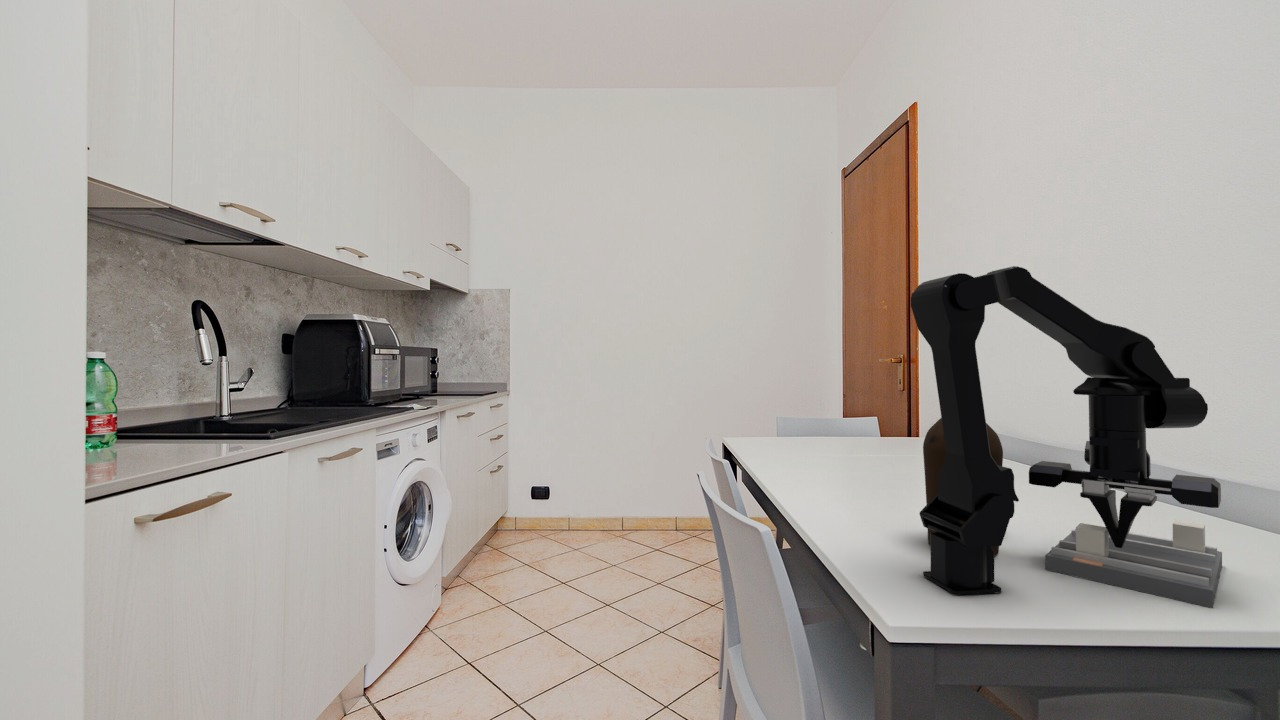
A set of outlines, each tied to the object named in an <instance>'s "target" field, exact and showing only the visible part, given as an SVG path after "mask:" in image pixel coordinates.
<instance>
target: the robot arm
mask: <svg viewBox="0 0 1280 720" xmlns="http://www.w3.org/2000/svg"><path fill="white" fill-rule="evenodd" d="M996 303H997V304H999V305H1001V306H1002V307H1004V308H1005V309H1007V310H1008V311H1010V312H1011V313H1013V314H1015V315H1016V316H1017V317H1019V318H1021V319H1022V320H1023V321H1026V323H1028V324H1030V325H1031V326H1032V327H1034V328H1036V329H1037V330H1039V331H1041V332H1042V333H1043V334H1045V335H1047V336H1048V337H1049V338H1051V339H1053V340H1054V341H1056V342H1057V343H1059V344H1060V345H1061V346H1062V347H1063V348H1064V349H1065V350H1066V354H1067V357H1068V359H1069V361H1070V362H1071V363H1073V364H1074V365H1075V367H1077V368H1078V369H1079V370H1080V371H1081V372H1082V373H1083V374H1085V375H1086V376H1088V377H1086V378H1085V380H1084V381H1083V382H1082V383H1081V384H1080V385H1077V387H1075V388H1073V390H1072V391H1073V394H1074V395H1078V396H1080V395H1081V396H1088V427H1089V428H1088V432H1089V433H1088V435H1089V437H1088V440H1087V441H1086V442H1085V446H1084V458H1083V459H1084V461H1085V463H1086V465H1089V471H1086V470H1079V469H1078V470H1077V469H1073V468H1072V465H1071V463H1065V462H1056V461H1055V462H1054V461H1046V460H1042V461H1039V462H1036V463H1035V464H1032V465H1031V466H1030V467H1029V470H1028V484H1029V485H1033V486H1041V487H1047V488H1048V487H1049V488H1056V487H1057V486H1058V487H1059V485H1061V484H1062V483H1068V484H1076V485H1081V489H1082V491H1081V492H1080V495H1079V497H1080V498H1084V499H1088V500H1089V501H1090V503H1091V504H1092V506H1093V507H1094V509H1095V510H1096V512H1097V513H1098V515H1099V516H1100V519H1101V520H1102V523H1103V524H1104V527H1106V528H1107V531H1108V533H1109V535H1110V537H1111V539H1112V541H1113V543H1114V545H1115V547H1117V548H1122V547H1123V545H1124V543H1125V540H1126V538H1127V535H1128V533H1130V530H1131V528H1132V526H1133V523H1134V521H1135V519H1136V517H1137V515H1138V513H1139V512H1140V510H1141V509H1142V507H1153V505H1154V504H1155V503H1156V502H1157V500H1158V496H1157V494H1158V495H1167V496H1171V497H1172V498H1173V499H1174V500H1176V501H1177V502H1178V503H1179V504H1180V505H1186V506H1194V507H1203V508H1210V509H1215V508H1216V509H1217V508H1219V507H1220V505H1221V503H1222V487H1221V486H1222V485H1221V483H1220V482H1219V481H1218V480H1216V479H1215V478H1213V477H1203V476H1202V477H1201V476H1194V475H1186V474H1175V475H1174V476H1173V478H1172V480H1171V479H1169V480H1168V479H1162V478H1150V476H1151V455H1150V454H1149V452H1148V450H1147V429H1189V428H1194V427H1197V426H1199V425H1201V424H1202V422H1204V420H1205V419H1206V417H1207V415H1208V410H1209V408H1208V407H1209V406H1208V403H1206V400H1205V398H1204V396H1203V395H1202V394H1201V393H1200V392H1199V391H1198V390H1197V389H1195V388H1193V387H1191V380H1190V378H1189V377H1175V376H1174V375H1173V373H1172V372H1171V370H1170V368H1169V367H1168V365H1167V364H1166V363H1165V361H1164V359H1163V358H1162V357H1161V355H1160V354H1159V353H1158V351H1157V349H1155V348H1156V345H1155V344H1154V343H1153V341H1152V340H1151V339H1150V338H1149V337H1148V336H1146V335H1144V334H1141V333H1140V332H1137V331H1134V330H1132V329H1130V328H1127V327H1125V326H1120V325H1116V324H1112V323H1107V322H1104V321H1101V320H1099V319H1096V318H1095V317H1093V316H1092V315H1090V314H1089V313H1087V312H1086V311H1084V310H1083V309H1082V308H1080V307H1078V306H1077V305H1075V304H1074V303H1073V302H1070V301H1069V300H1067V299H1066V298H1064V297H1063V296H1061V295H1060V294H1059V293H1057V291H1054V290H1053V289H1051V288H1050V287H1048V286H1046V285H1045V284H1043V283H1042V282H1041V281H1039V280H1037V279H1036V278H1035V277H1033V276H1032V274H1031V272H1030V271H1029V270H1028V269H1026V268H1024V267H1022V266H1021V267H1020V266H1014V265H1013V266H1009V267H1005V268H1001V269H996V270H992V271H988V272H987V273H985V274H982V275H979V276H972V275H970V274H968V273H959V272H958V273H955V274H950V275H947V276H943V277H939V278H935V279H930V280H926V281H923V282H921V283H920V284H919V285H917V287H916V288H915V289H914V291H913V292H911V295H910V308H911V311H912V316H913V317H914V321H915V324H916V328H917V329H918V331H919V332H920V334H921V335H922V337H923V338H924V339H925V341H926V342H927V344H928V345H929V347H930V349H931V353H932V360H933V367H934V373H935V374H934V375H935V381H936V388H937V389H936V390H937V396H938V402H939V410H940V416H941V417H940V418H942V425H943V432H944V439H945V446H946V458H945V461H944V463H943V465H942V467H941V470H940V472H939V474H938V493H937V494H936V495H935V496H934V497H933V499H932V500H931V501H930V502H929V503H928V504H926V505H925V506H924V507H923V508H921V509H922V510H920V511H919V517H920V520H921V522H922V526H923V527H924V528H926V529H928V528H929V529H931V530H934V531H936V532H935V533H930V545H929V547H930V570H927V571H922V576H923V577H925V578H927V579H928V580H930V581H931V582H933V583H934V584H936V585H938V586H940V587H941V588H943V589H945V590H947V591H948V592H949V593H951V594H953V595H975V594H993V593H995V594H996V593H997V594H998V593H1002V587H1001V586H999V585H997V584H995V583H994V582H995V580H996V577H995V556H994V550H993V549H992V546H999V547H1001V546H1002V544H1003V541H1004V538H1005V536H1006V532H1007V529H1008V526H1009V523H1010V520H1011V519H1012V518H1013V517H1014V514H1015V502H1016V503H1018V502H1019V501H1020V500H1019V498H1018V495H1017V493H1016V491H1015V474H1014V471H1013V469H1012V468H1011V467H1007V466H1003V465H1002V466H998V465H997V464H996V462H995V461H994V459H993V458H992V456H991V453H990V448H989V441H988V433H987V426H986V423H987V420H986V414H985V413H986V412H985V407H984V400H983V393H982V384H981V383H982V382H981V377H980V372H979V371H980V369H979V364H978V363H979V362H978V357H977V355H978V354H977V350H976V342H977V339H978V337H979V335H980V332H981V329H982V327H983V324H984V322H985V319H986V317H985V316H986V315H985V314H986V313H985V312H986V306H988V305H994V304H996ZM1114 489H1119V490H1124V493H1125V495H1123V497H1121V498H1120V503H1119V512H1118V509H1117V499H1116V498H1117V497H1116V496H1117V495H1116V490H1114ZM1118 513H1119V514H1118ZM960 520H962V521H965V523H964V524H961V523H959V522H960Z"/></svg>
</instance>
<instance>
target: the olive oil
mask: <svg viewBox="0 0 1280 720" xmlns="http://www.w3.org/2000/svg"><path fill="white" fill-rule="evenodd" d="M986 426H987V433H988V441H989V448H990V453H991V456H992V458H993V459H994V461H995V462H996V464H997V465H998V466H1003V461H1004V459H1003V458H1004V449H1003V445H1002V442H1001V439H1000V437H999V435H998V434H997V431H995V430H994V429H993V428H992V427H991V426H990V425H989V424H988V423H987V422H986ZM922 453H923V455H922V456H923V467H924V468H923V469H924V481H925V482H924V483H925V484H924V485H925V497H926V499H925V503H926V505H927V504H928V503H929V502H930V501H931V500H932V499H933V497H934V496H935V495H936V494H937V493H938V474H939V472H940V470H941V467H942V465H943V463H944V461H945V458H946V446H945V439H944V432H943V425H942V418H941V417H940V418H939V419H937V421H936V422H935V423H934V424H932V426H931V427H929V429H927V432H926V434H925V437H924V440H923V445H922ZM959 523H961V524H964V523H965V521H962V520H960V522H959ZM935 532H936V531H934V530H931V529H929V528H927V542H928V545H929V546H930V533H935ZM992 549H993V550H994V557H996V556H998V555H999V552H1000V546H992Z"/></svg>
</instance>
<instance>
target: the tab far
mask: <svg viewBox="0 0 1280 720" xmlns="http://www.w3.org/2000/svg"><path fill="white" fill-rule="evenodd" d="M1172 540H1173V547H1174V548H1179V549H1185V550H1190V551H1196V552H1202V553H1205V546H1206V524H1205V523H1200V522H1191V521H1185V520H1178V519H1174V521H1173V522H1172Z"/></svg>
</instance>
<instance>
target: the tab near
mask: <svg viewBox="0 0 1280 720" xmlns="http://www.w3.org/2000/svg"><path fill="white" fill-rule="evenodd" d="M1075 529H1076V551H1078V552H1083V553H1088V554H1092V555H1097V556H1102V557H1107V556H1108V555H1109V533H1108V531H1107V528H1106V526H1101V525H1095V524H1091V523H1090V524H1089V523H1084V522H1083V523H1082V522H1080V523H1079V524H1077V525H1076V526H1075Z"/></svg>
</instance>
